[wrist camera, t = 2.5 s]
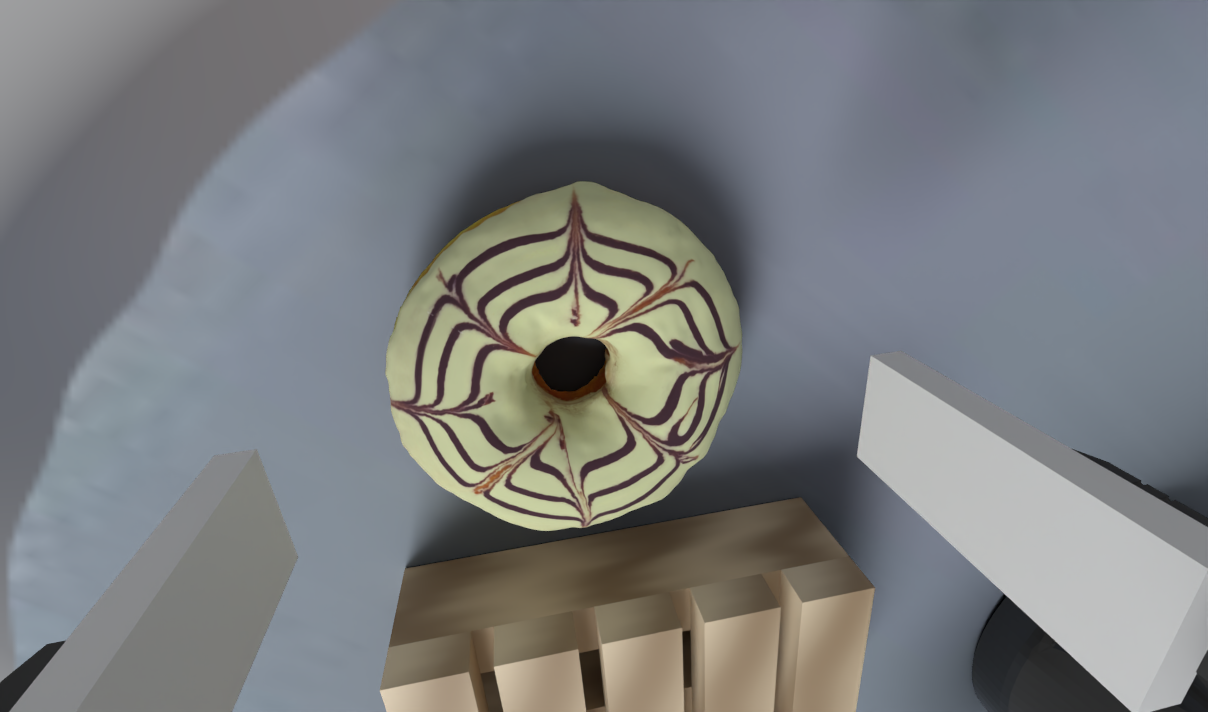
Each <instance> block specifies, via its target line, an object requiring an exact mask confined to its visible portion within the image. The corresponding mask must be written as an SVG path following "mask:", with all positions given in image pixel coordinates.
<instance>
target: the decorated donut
mask: <svg viewBox="0 0 1208 712" xmlns="http://www.w3.org/2000/svg"><path fill="white" fill-rule="evenodd" d="M571 336H578V337H583V338H593V339H598V340H600V341H601V342H602V343H603V344H604V345H605V346H606V347H607V348H606V349H605V358H606V360H605V362H604V365H603V367H602V369H600V371H599V373H598V375H597V376H594V378H593V379H592V380H591V381H590V382H589V384H587V385H585V386H583V387H581V388H580V389H578V390H576V391H570V392H569V391H568V392H567V391H560V392H559V391H556V390H552V389H550V388H549V386H547V384H545V381H544V380H543V379H542V377H541V375H540V374H539V372H538V371H539V369H537V368H536V365H535V360H536V358H538V356H539V355H540V354H541V353H542V351H543V350H544V348H545V347H546V346H547V345H549V344H550V343H552V342H554V341H556V340H558V339H561V338H565V337H571ZM741 360H742V330H741V324H740V316H739V307H738V304H737V301H736V299H735V297H734V296H733V293H732V290H731V287H730V285H729V283H728V281H727V279H726V276H725V274H724V272H723V270H722V269H721V267H720V266H719V264H718V263H717V261H716V259H715V257H714V255H713V254H712V253H711V252H710V251H709V250H708V249H707V248H706V247H705V246H704V245H703V244H702V242H701V241H700V240H699V239H698V238H697V237H696V236H695V235H694V234H693V233H692V231H691V230H690V229H689V228H688V227H687V226H686V225H684V224H683V223H682V222H681V221H680V220H678V219H677V218H675V217H674V216H672V215H671V214H669V213H668V212H666V211H665V210H663V209H661V208H659V207H656V206H654V205H651V204H649V203H646V202H643V201H639V200H636V199H633V198H631V197H629V196H627V195H625V194H622V193H620V192H617V191H613V190H611V189H608V188H606V187H604V186H602V185H600V184H597V183H594V182H585V181H579V182H575V183H573V184H571V185H568V186H564V187H560V188H558V189H555V190H552V191H548V192H544V193H540V194H535V195H532V196H529V197H527V198H525V199H524V200H521V201H518V202H515V203H513V204H511V205H509V206H506V207H504V208H501V209H498V210H497V211H494V212H493V213H491V214H489V215H487V216H485V217H483V218H482V219H480V220H478V221H477V222H475V223H474V224H472V225H471V226H469V227H468V228H466V229H465V230H463V231H461V232H460V233H459V234H458V235H457V236H456V237H455V238H454V239H452V240H451V241H450V242H449V243H448V244H447V245H446V246H445V247H444V248H443V249H442V250H441V251H440V253H438V254H437V255H436V256H435V258H434V259H433V261H432V262H431V263H430V264H429V265H428V267H427V268H426V269H425V270H424V271H423V272H422V273H421V275H420V276H419V278H418V279H417V281H416V282H415V283H414V285H413V286H412V288H411V289H410V291H409V293H408V295H407V297H406V299H405V301H404V303H403V305H402V306H401V307H400V311H399V313H398V317H397V318H396V322H395V327H394V330H393V333H392V335H391V336H390V339H389V344H388V349H387V355H386V372H385V374H386V377H387V379H388V382H389V392H390V399H391V412H392V415H393V418H394V421H395V423H396V426H397V428H398V430H399V432H400V436H401V442H402V444H403V446H404V447H405V448H406V449H407V450H408V452H409V454H410V456H411V457H413V458H414V459H415V460H416V462H417V463H418V464H419V465H420V466H421V467H422V468H423V470H424V471H425V472H427V473H428V474H429V475H430V476H431V477H432V479H433V480H434V481H435V482H436V483H437V484H438V485H440V486H441V487H443V488H444V489H446V490H447V491H449V492H452V493H453V494H455V495H456V496H458V497H460V498H461V499H463V500H465V501H467V502H469V503H471V504H473V505H475V506H477V507H480V508H481V509H483V510H484V511H486V512H489V513H491V514H492V515H494V516H496V517H498V518H500V519H502V520H505V521H507V522H509V523H512V524H516V525H519V526H523V527H526V528H530V529H534V530H540V531H552V530H560V529H565V528H570V527H576V528H584V527H588V526H591V525H594V524H598V523H603V522H605V521H609V520H612V519H614V518H617V517H620V516H622V515H624V514H626V513H628V512H630V511H632V510H635V509H638V508H640V507H643V506H646V505H649V504H652V503H654V502H657V501H659V500H662V499H663V498H665V497H666V496H667V495H668V494H669V493H670V492H671V491H672V490H673V489H674V488H675V487H676V486H677V485H678V484H679V482H680V481H681V480H682V478H683V477H684V475H685V473H686V471H687V470H688V469H689V468H691V467H692V466H693V465H694V464H696V463H697V462H698V461H700V460H701V459H703V458H704V456H705V455H706V454H707V452H708V450H709V448H710V445H711V443H712V441H713V439H714V437H715V434H716V431H717V427H718V425H719V422H720V420H721V418H722V417H723V416H724V414H725V413H726V410H727V407H728V404H729V401H730V399H731V397H732V394H733V392H734V389H735V386H736V383H737V379H738V376H739V373H740V368H741Z"/></svg>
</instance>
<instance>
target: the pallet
mask: <svg viewBox="0 0 1208 712" xmlns="http://www.w3.org/2000/svg"><path fill="white" fill-rule="evenodd" d="M874 591H875V587H874V586H873V585H872V583H871V582H870V581H869V580H868V579H867V577H866V576H865V575H864V574H863V572H862V571H861V570H860V569H859V568H858V566H857V565H856V564H855V563H854V561H853V560H852V559H851V558H850V557H849V555H848V554H847V553H846V552H845V550H844V549H843V548H842V547H841V546H840V544H839V543H838V542H837V541H836V539H835V538H834V537H833V536H832V535H831V533H830V532H829V531H828V530H827V528H826V527H825V526H824V525H823V524H822V522H821V521H820V520H819V519H818V517H817V516H816V515H815V514H814V513H813V511H812V510H811V509H810V508H809V506H808V505H807V504H806V503H805V502H804V500H803V499H802V498H801V497H799V498H794V499H788V500H783V501H777V502H771V503H766V504H760V505H755V506H749V507H744V508H738V509H733V510H727V511H722V512H716V513H710V514H705V515H699V516H694V517H688V518H683V519H677V520H672V521H666V522H661V523H655V524H650V525H644V526H638V527H633V528H627V529H622V530H616V531H611V532H605V533H600V534H594V535H589V536H583V537H577V538H572V539H566V540H561V541H555V542H550V543H544V544H539V545H533V546H528V547H522V548H516V549H511V550H505V551H500V552H494V553H489V554H483V555H478V556H472V557H467V558H461V559H456V560H450V561H444V562H439V563H433V564H428V565H422V566H417V567H411V568H406V569H405V571H404V576H403V581H402V585H401V590H400V595H399V600H398V605H397V610H396V614H395V619H394V624H393V629H392V634H391V639H390V644H389V648H388V653H387V658H386V663H385V668H384V673H383V678H382V682H381V687H380V692H381V695H382V698H383V701H384V704H385V707H386V710H387V712H856V706H857V700H858V693H859V687H860V681H861V674H862V668H863V661H864V655H865V649H866V642H867V636H868V629H869V623H870V617H871V610H872V604H873V597H874Z"/></svg>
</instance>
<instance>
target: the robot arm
mask: <svg viewBox="0 0 1208 712" xmlns="http://www.w3.org/2000/svg"><path fill="white" fill-rule="evenodd" d="M857 457H858V458H859V459H860V460H861V461H862V462H863V463H864V464H865V465H867V466H868V467H869V468H870V469H871V470H872V471H873V472H874V473H875V474H876V475H877V476H878V477H879V478H881V479H882V480H883V481H884V482H885V483H886V484H887V485H888V486H889V487H890V488H891V489H892V490H893V491H895V492H896V493H897V494H898V495H899V496H900V497H901V498H902V499H903V500H904V501H905V502H906V503H907V504H908V505H910V506H911V507H912V508H913V509H914V510H915V511H916V512H917V513H918V514H919V515H920V516H921V517H922V518H924V519H925V520H926V521H927V522H928V523H929V524H930V525H931V526H932V527H933V528H934V529H935V530H936V531H938V532H939V533H940V534H941V535H942V536H943V537H944V538H945V539H946V540H947V541H948V542H949V543H950V544H951V545H953V546H954V547H955V548H956V549H957V550H958V551H959V552H960V553H961V554H962V555H963V556H964V557H965V558H967V559H968V560H969V561H970V562H971V563H972V564H973V565H974V566H975V567H976V568H977V569H978V570H979V571H981V572H982V573H983V574H984V575H985V576H986V577H987V578H988V579H989V580H990V581H991V582H992V583H993V584H994V585H996V586H997V587H998V588H999V589H1000V590H1001V591H1002V592H1003V593H1004V594H1005V595H1006V596H1007V597H1006V598H1005V599H1004V600H1003V602H1002V603H1001V604H1000V606H999V607H998V608H997V610H996V611H995V613H994V614H993V616H992V617H991V619H990V620H989V622H988V624H987V626H986V627H985V629H984V631H983V633H982V635H981V638H980V640H979V643H978V645H977V648H976V651H975V655H974V660H973V666H972V681H973V686H974V690H975V693H976V695H977V697H978V699H979V700H980V702H981V703H982V704H983V705H984V707H985V708H986V709H987V710H988V711H989V712H1208V518H1206V517H1205V516H1203V515H1201V514H1199V513H1198V512H1196V511H1194V510H1192V509H1190V508H1189V507H1187V506H1185V505H1183V504H1182V503H1180V502H1178V501H1176V500H1174V501H1171V500H1169V498H1168V497H1169V496H1167V495H1166V494H1164V493H1162V492H1160V491H1158V490H1157V489H1155V488H1153V487H1151V486H1150V485H1148V484H1147V485H1143V484H1142V483H1141V480H1139V479H1137V478H1135V477H1134V476H1132V475H1130V474H1128V473H1126V472H1125V471H1123V470H1121V469H1119V468H1118V467H1116V466H1114V465H1112V464H1110V463H1109V462H1106V461H1103V460H1101V459H1098V458H1095V457H1093V456H1090V455H1087V454H1085V453H1082V452H1079V451H1076V450H1074V449H1071V448H1069V447H1067V446H1066V445H1064V444H1062V443H1060V442H1059V441H1057V440H1055V439H1053V438H1052V437H1050V436H1048V435H1047V434H1045V433H1043V432H1041V431H1040V430H1038V429H1036V428H1034V427H1033V426H1031V425H1029V424H1027V423H1026V422H1024V421H1022V420H1020V419H1019V418H1017V417H1015V416H1013V415H1012V414H1010V413H1008V412H1007V411H1005V410H1003V409H1001V408H1000V407H998V406H996V405H994V404H993V403H991V402H989V401H987V400H986V399H984V398H982V397H980V396H979V395H977V394H975V393H973V392H972V391H970V390H968V389H967V388H965V387H963V386H961V385H960V384H958V383H956V382H954V381H953V380H951V379H949V378H947V377H946V376H944V375H942V374H940V373H939V372H937V371H935V370H933V369H932V368H930V367H928V366H927V365H925V364H923V363H921V362H920V361H918V360H916V359H914V358H913V357H911V356H909V355H907V354H906V353H904V352H902V351H897V352H891V353H884V354H878V355H871V358H870V365H869V372H868V380H867V387H866V394H865V401H864V408H863V416H862V423H861V430H860V437H859V444H858V452H857ZM297 559H298V555H297V553H296V550H295V548H294V545H293V542H292V540H291V537H290V535H289V532H288V529H287V527H286V524H285V522H284V519H283V516H282V514H281V511H280V509H279V506H278V503H277V501H276V498H275V496H274V493H273V490H272V488H271V485H270V483H269V480H268V477H267V475H266V472H265V470H264V467H263V464H262V462H261V459H260V457H259V454H258V451H257V449H254V450H248V451H241V452H235V453H228V454H222V455H215V456H213V458H212V459H211V460H210V461H209V463H208V464H207V465H206V466H205V468H204V469H203V470H202V471H201V473H200V474H199V475H198V476H197V478H196V479H195V480H194V481H193V483H192V484H191V485H190V486H189V488H188V489H187V490H186V491H185V493H184V494H183V495H182V496H181V498H180V499H179V500H178V501H177V503H176V504H175V505H174V506H173V508H172V509H171V510H170V511H169V513H168V514H167V515H166V516H165V518H164V519H163V520H162V521H161V523H160V524H159V525H158V526H157V528H156V529H155V530H154V531H153V533H152V534H151V535H150V536H149V538H148V539H147V540H146V541H145V543H144V544H143V545H142V546H141V548H140V549H139V550H138V551H137V553H136V554H135V555H134V556H133V558H132V559H131V560H130V561H129V563H128V564H127V565H126V566H125V568H124V569H123V570H122V571H121V573H120V574H119V575H118V576H117V578H116V579H115V580H114V581H113V583H112V584H111V585H110V586H109V588H108V589H107V590H106V591H105V593H104V594H103V595H102V596H101V598H100V599H99V600H98V601H97V603H96V604H95V605H94V606H93V608H92V609H91V610H90V611H89V613H88V614H87V615H86V616H85V618H84V619H83V620H82V621H81V623H80V624H79V625H78V626H77V628H76V629H75V630H74V631H73V633H72V634H71V635H70V636H69V638H68V639H67V640H66V641H61V642H56V643H51V644H47V645H46V646H44V647H43V648H42V649H41V650H39V651H38V652H37V653H36V654H34V655H33V656H32V657H31V658H29V659H28V660H27V661H26V662H25V663H23V664H22V665H21V666H20V667H18V668H17V669H16V670H15V671H13V672H12V673H11V674H10V675H9V676H7V677H6V678H5V679H4V680H3V681H2V682H1V683H0V712H232V710H233V708H234V706H235V703H236V701H237V699H238V696H239V694H240V692H241V689H242V687H243V685H244V682H245V680H246V678H247V675H248V673H249V671H250V668H251V666H252V664H253V661H254V659H255V657H256V654H257V652H258V650H259V647H260V645H261V643H262V640H263V638H264V636H265V633H266V631H267V629H268V626H269V624H270V622H271V619H272V617H273V615H274V612H275V610H276V608H277V605H278V603H279V601H280V598H281V596H282V594H283V591H284V589H285V587H286V584H287V582H288V580H289V577H290V575H291V573H292V570H293V568H294V566H295V563H296V561H297Z"/></svg>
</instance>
